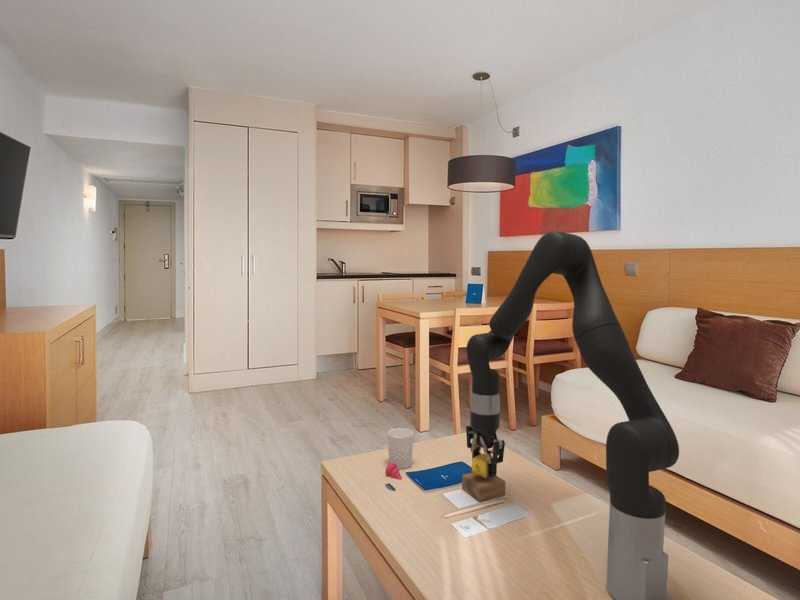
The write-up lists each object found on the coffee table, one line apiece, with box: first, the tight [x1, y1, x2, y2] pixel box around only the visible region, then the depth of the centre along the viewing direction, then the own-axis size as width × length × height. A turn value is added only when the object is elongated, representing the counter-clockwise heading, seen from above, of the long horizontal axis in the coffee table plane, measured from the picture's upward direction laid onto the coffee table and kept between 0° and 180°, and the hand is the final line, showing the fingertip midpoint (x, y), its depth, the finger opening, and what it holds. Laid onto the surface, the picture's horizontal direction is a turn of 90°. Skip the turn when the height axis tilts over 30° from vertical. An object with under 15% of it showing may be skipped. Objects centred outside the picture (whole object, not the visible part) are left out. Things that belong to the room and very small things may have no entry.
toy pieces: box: [385, 463, 403, 492], centre depth 135 cm, size 12×11×4 cm
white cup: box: [387, 427, 415, 470], centre depth 147 cm, size 8×8×10 cm
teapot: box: [471, 453, 493, 478], centre depth 127 cm, size 8×6×5 cm
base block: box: [461, 472, 506, 504], centre depth 128 cm, size 8×8×4 cm
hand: (483, 470), depth 127 cm, fingers closed on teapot, 6 cm apart
